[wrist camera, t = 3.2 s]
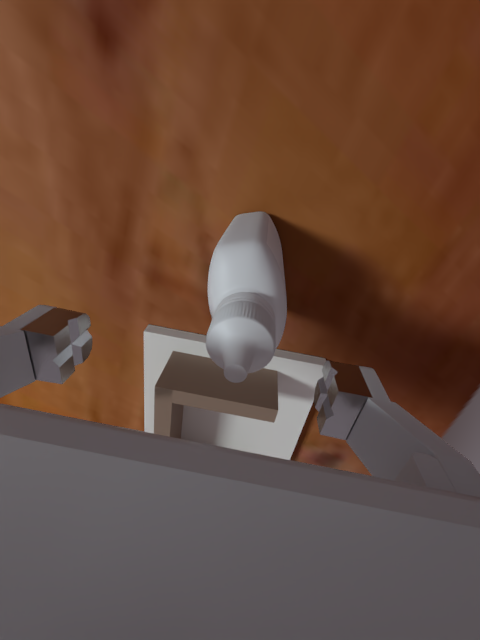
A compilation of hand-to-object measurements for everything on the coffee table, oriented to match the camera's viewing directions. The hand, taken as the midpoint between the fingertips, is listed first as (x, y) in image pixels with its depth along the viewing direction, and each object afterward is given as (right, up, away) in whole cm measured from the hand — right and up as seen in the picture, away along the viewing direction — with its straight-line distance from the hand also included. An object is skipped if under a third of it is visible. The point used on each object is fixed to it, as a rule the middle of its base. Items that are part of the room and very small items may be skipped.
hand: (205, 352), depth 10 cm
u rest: (0, -7, +16) cm, 17 cm away
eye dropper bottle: (+2, +5, +9) cm, 11 cm away
